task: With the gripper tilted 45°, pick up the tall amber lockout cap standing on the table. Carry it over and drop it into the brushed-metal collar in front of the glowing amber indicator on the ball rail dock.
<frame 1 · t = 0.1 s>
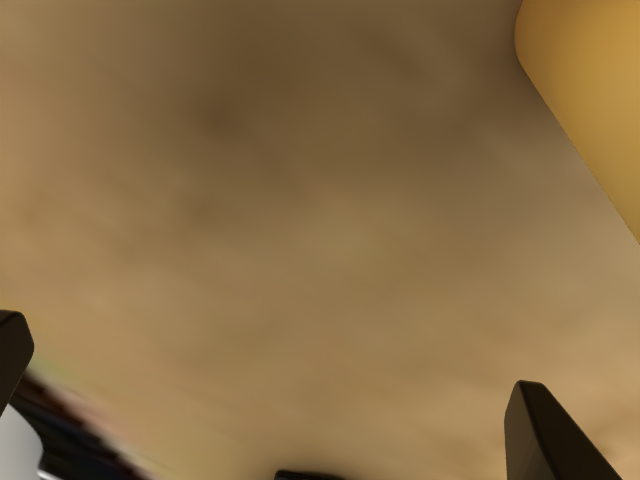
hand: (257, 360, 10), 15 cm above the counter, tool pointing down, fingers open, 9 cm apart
lockout cap: (588, 24, 19), on the counter
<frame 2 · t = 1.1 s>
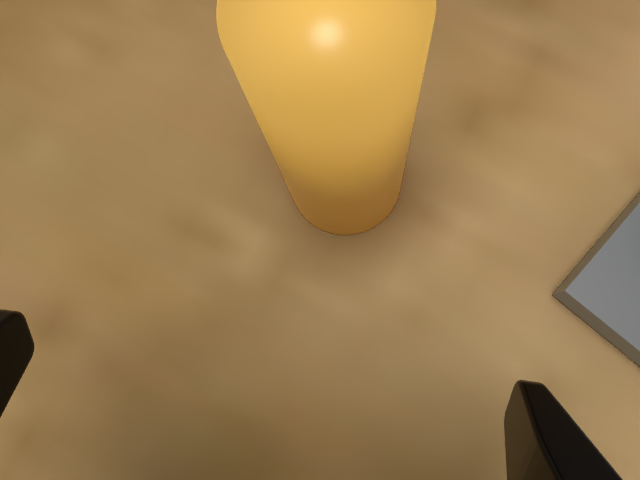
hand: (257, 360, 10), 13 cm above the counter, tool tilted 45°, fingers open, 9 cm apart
lockout cap: (345, 181, 24), on the counter
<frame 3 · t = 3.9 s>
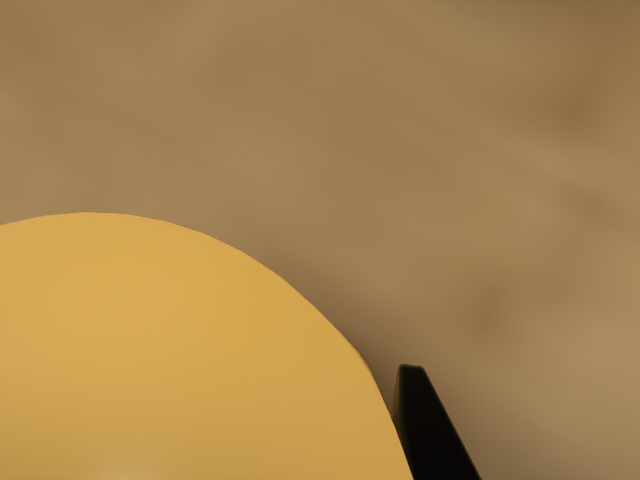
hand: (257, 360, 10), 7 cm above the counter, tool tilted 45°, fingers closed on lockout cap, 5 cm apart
lockout cap: (294, 407, 16), on the counter, touching gripper
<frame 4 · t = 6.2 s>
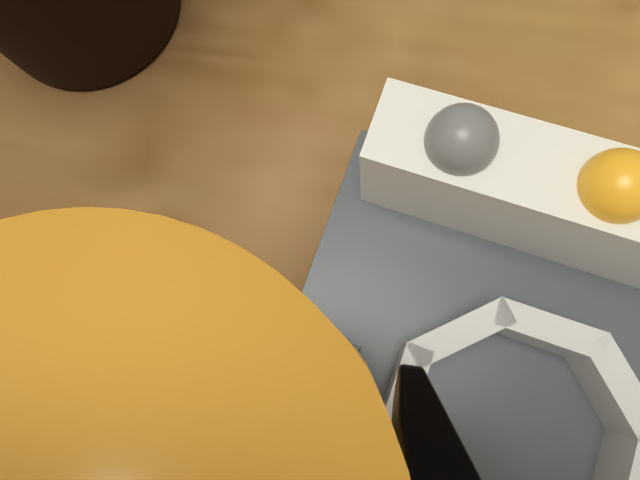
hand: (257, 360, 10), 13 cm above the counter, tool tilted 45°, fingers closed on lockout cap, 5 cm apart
olive oil: (95, 10, 28), on the counter
lockout cap: (293, 406, 16), point 7 cm above the counter, touching gripper
ball rail dock: (492, 427, 21), on the counter
when the fingers open (9 cm above the counter, at t = 8.4 s): lockout cap drops 1 cm, resting on ball rail dock.
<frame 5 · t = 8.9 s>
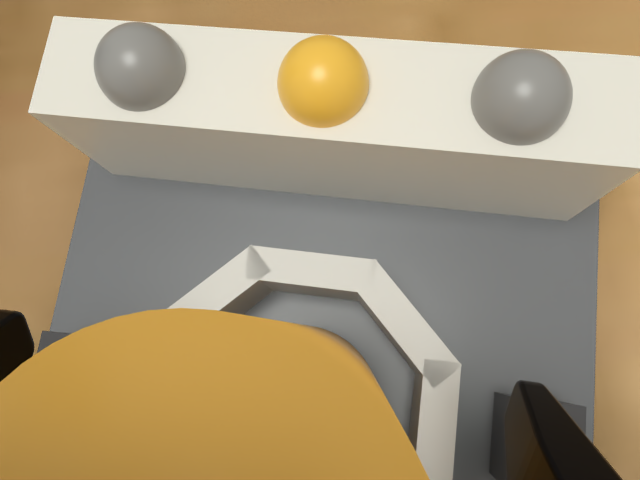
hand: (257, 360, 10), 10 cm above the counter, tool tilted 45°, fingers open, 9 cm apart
lockout cap: (300, 404, 17), point 2 cm above the counter, touching ball rail dock
ball rail dock: (306, 400, 19), on the counter
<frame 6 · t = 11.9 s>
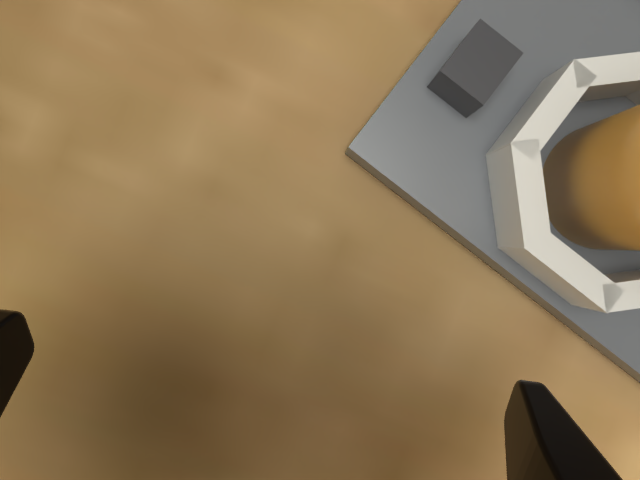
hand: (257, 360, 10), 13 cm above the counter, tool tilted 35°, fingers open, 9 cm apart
lockout cap: (601, 187, 21), point 2 cm above the counter, touching ball rail dock
ball rail dock: (581, 190, 23), on the counter
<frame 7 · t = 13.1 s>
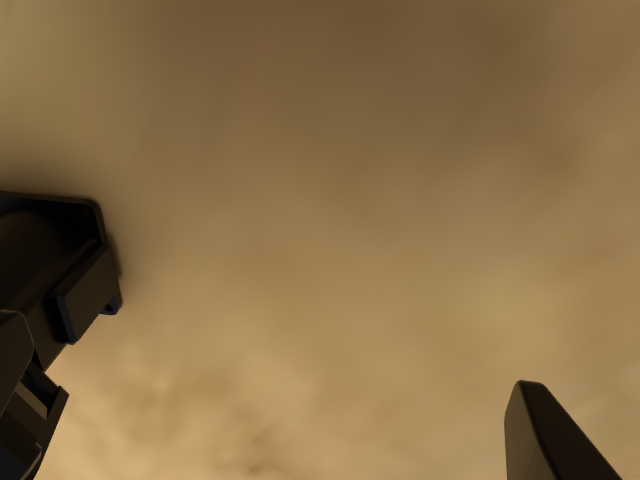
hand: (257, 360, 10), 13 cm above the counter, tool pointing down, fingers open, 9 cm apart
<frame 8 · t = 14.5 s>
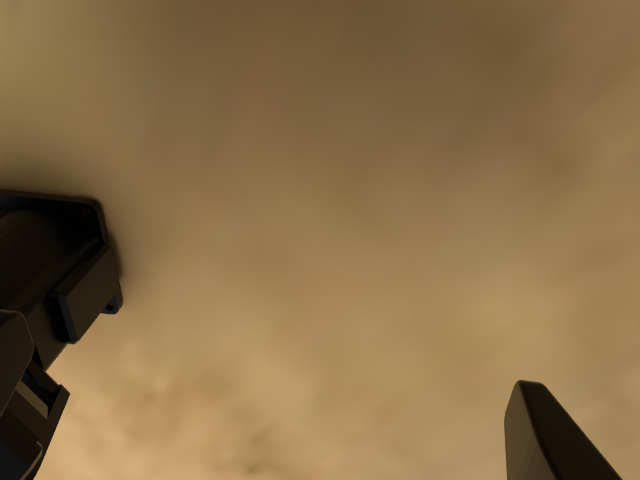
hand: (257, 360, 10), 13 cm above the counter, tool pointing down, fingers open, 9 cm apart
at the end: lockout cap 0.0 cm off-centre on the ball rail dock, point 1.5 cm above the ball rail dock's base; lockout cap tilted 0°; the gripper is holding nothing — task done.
